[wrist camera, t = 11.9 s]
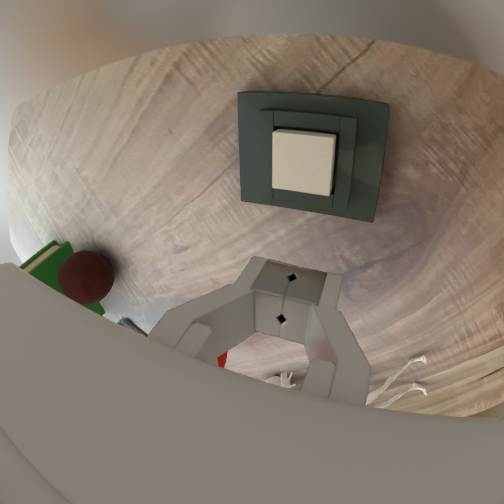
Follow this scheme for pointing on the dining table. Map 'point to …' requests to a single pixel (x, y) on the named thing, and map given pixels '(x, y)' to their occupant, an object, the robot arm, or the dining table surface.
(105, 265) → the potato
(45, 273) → the hardback book
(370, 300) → the dining table surface
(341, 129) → the stepped green tier
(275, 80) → the dining table surface
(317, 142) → the key
